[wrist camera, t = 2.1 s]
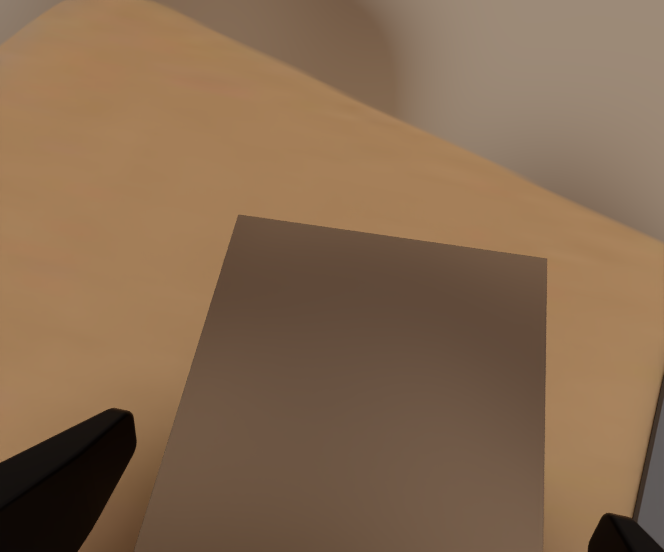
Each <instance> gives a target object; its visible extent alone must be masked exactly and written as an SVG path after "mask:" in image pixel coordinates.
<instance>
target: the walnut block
mask: <svg viewBox="0 0 664 552" xmlns="http://www.w3.org/2000/svg"><path fill="white" fill-rule="evenodd" d="M546 304H547V259H546V258H539V257H532V256H525V255H518V254H511V253H504V252H497V251H490V250H483V249H476V248H469V247H462V246H455V245H448V244H441V243H434V242H427V241H420V240H413V239H406V238H399V237H392V236H385V235H378V234H371V233H364V232H357V231H350V230H343V229H336V228H329V227H322V226H315V225H308V224H301V223H294V222H287V221H280V220H273V219H266V218H259V217H252V216H245V215H238V217H237V221H236V224H235V227H234V230H233V234H232V237H231V240H230V243H229V246H228V250H227V253H226V256H225V259H224V262H223V266H222V269H221V272H220V275H219V279H218V282H217V285H216V288H215V291H214V295H213V298H212V301H211V304H210V307H209V311H208V314H207V317H206V320H205V324H204V327H203V330H202V333H201V336H200V340H199V343H198V346H197V349H196V352H195V356H194V359H193V362H192V365H191V369H190V372H189V375H188V378H187V381H186V385H185V388H184V391H183V394H182V397H181V401H180V404H179V407H178V410H177V414H176V417H175V420H174V423H173V426H172V430H171V433H170V436H169V439H168V442H167V446H166V449H165V452H164V455H163V459H162V462H161V465H160V468H159V471H158V475H157V478H156V481H155V484H154V487H153V491H152V494H151V497H150V500H149V504H148V507H147V510H146V513H145V516H144V520H143V523H142V526H141V529H140V532H139V536H138V539H137V542H136V545H135V549H134V552H543V520H544V448H545V376H546Z"/></svg>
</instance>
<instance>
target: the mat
mask: <svg viewBox="0 0 664 552" xmlns="http://www.w3.org/2000/svg"><path fill="white" fill-rule="evenodd" d="M633 520H635V521H636V522H637V523H638V524H639V525H640V526H641V527H642V528H643V529H644V530H645V531H646V532H647V533H648V534H649V535H650V536H651V537H652V538H653V539H654V540H655V541H656V542H657V543H658V544H659V545H660V546H661V547H662V548H663V549H664V378H663V382H662V387H661V391H660V396H659V401H658V405H657V410H656V415H655V419H654V424H653V428H652V433H651V438H650V442H649V447H648V452H647V456H646V461H645V465H644V470H643V475H642V479H641V484H640V488H639V493H638V498H637V502H636V507H635V512H634V516H633Z"/></svg>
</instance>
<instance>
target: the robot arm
mask: <svg viewBox="0 0 664 552" xmlns="http://www.w3.org/2000/svg"><path fill="white" fill-rule="evenodd" d="M136 443H137V440H136V432H135V425H134V417H133V414H132V413H131V412H130V411H127V410H122V409H117V408H111V409H108V410H106V411H104V412H102V413H100V414H98V415H96V416H94V417H92V418H90V419H87V420H85V421H83V422H81V423H79V424H77V425H75V426H73V427H71V428H69V429H67V430H65V431H63V432H61V433H59V434H57V435H55V436H53V437H51V438H49V439H47V440H45V441H43V442H41V443H39V444H37V445H35V446H33V447H31V448H29V449H27V450H25V451H23V452H21V453H19V454H17V455H15V456H13V457H11V458H9V459H7V460H5V461H3V462H1V463H0V552H78V550H79V549H80V547H81V546H82V544H83V543H84V541H85V540H86V538H87V536H88V535H89V533H90V532H91V530H92V529H93V527H94V525H95V523H96V522H97V520H98V518H99V517H100V515H101V513H102V511H103V509H104V507H105V506H106V504H107V502H108V500H109V498H110V496H111V494H112V493H113V491H114V489H115V487H116V485H117V483H118V482H119V480H120V478H121V476H122V474H123V472H124V471H125V469H126V467H127V465H128V463H129V461H130V459H131V458H132V456H133V454H134V451H135V448H136ZM588 552H664V549H663V548H662V547H661V546H660V545H659V544H658V543H657V542H656V541H655V540H654V539H653V538H652V537H651V536H650V535H649V534H648V533H647V532H646V531H645V530H644V529H643V528H642V527H641V526H640V525H639V524H638V523H637V522H636V521H635V520H633V519H632V518H630V517H626V516H622V515H617V514H612V513H606V514H604V515H603V516H602V517H601V519H600V521H599V523H598V525H597V527H596V529H595V531H594V533H593V535H592V537H591V539H590V541H589V545H588Z"/></svg>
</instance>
